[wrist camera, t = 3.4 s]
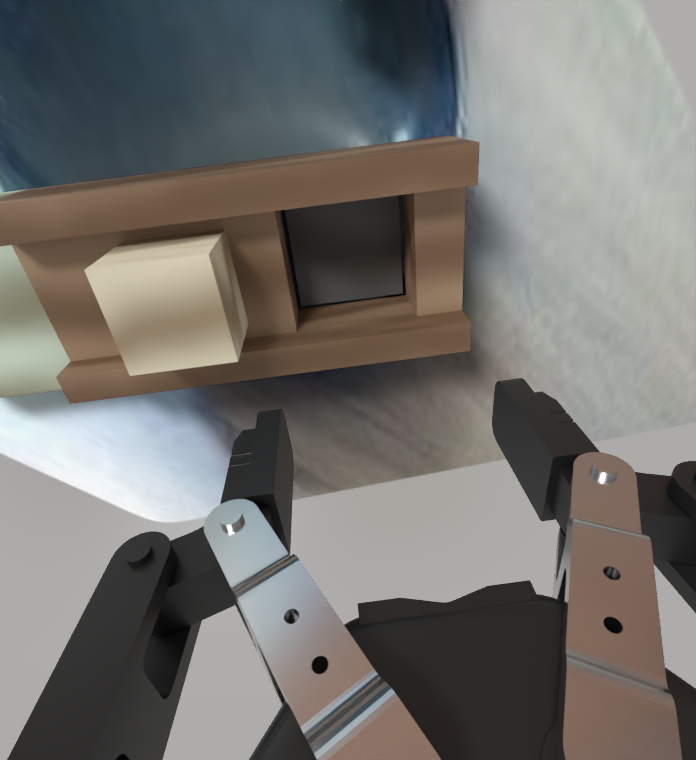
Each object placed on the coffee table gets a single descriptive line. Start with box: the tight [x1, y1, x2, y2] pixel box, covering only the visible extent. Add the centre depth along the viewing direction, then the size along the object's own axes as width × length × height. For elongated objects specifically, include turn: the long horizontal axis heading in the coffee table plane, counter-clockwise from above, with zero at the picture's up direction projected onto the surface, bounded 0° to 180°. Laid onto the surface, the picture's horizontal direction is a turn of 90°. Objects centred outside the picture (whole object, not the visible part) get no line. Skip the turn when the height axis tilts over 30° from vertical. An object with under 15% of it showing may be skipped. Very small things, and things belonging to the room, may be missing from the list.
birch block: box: [84, 229, 248, 376], centre depth 25 cm, size 6×6×5 cm
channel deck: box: [0, 135, 479, 404], centre depth 28 cm, size 12×36×6 cm, turn 96°
